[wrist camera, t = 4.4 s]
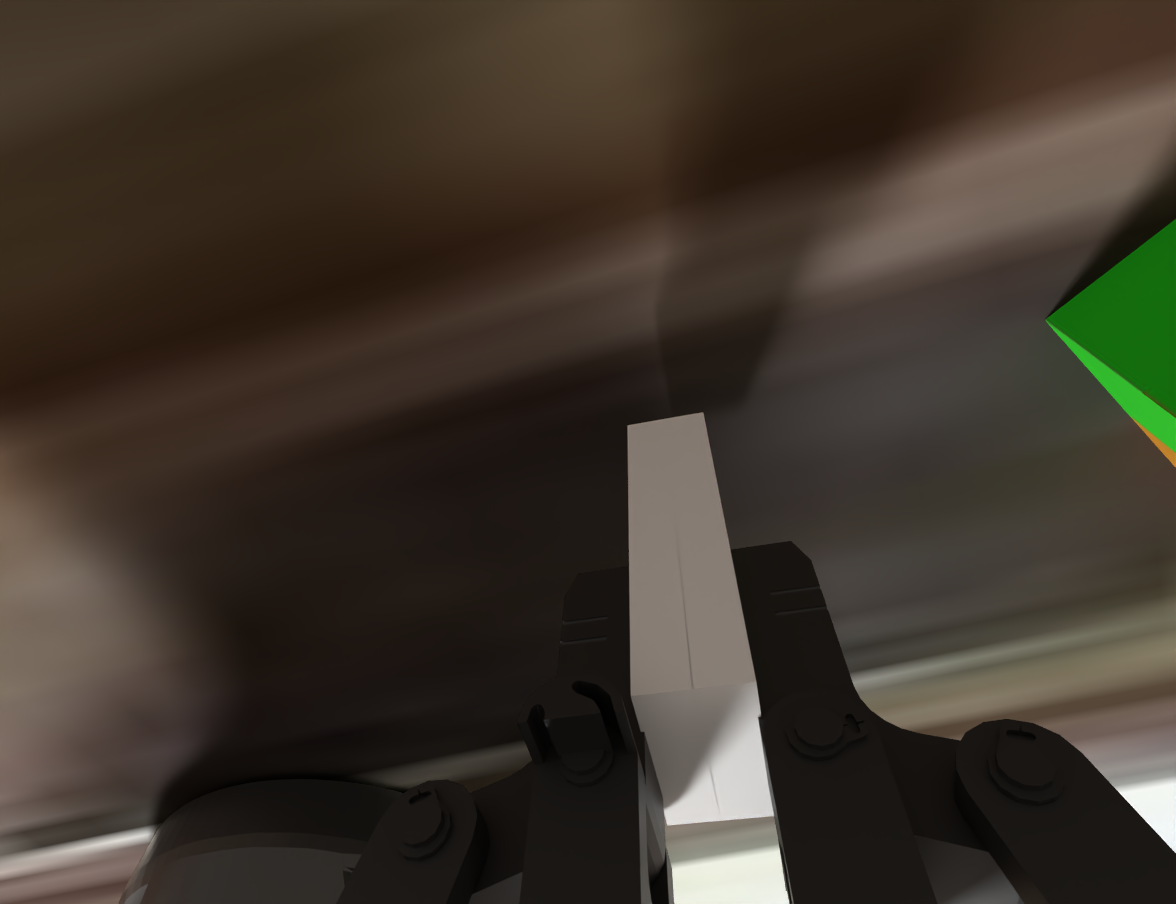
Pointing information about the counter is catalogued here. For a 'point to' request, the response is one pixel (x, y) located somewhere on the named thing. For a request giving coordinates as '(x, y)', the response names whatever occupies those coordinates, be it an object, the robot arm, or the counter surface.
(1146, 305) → the puzzle toy
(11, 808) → the counter surface
